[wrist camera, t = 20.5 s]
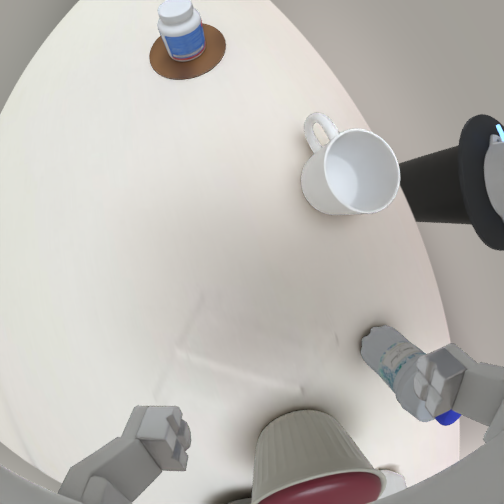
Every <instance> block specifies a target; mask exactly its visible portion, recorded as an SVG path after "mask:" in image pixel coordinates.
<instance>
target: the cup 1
mask: <svg viewBox="0 0 504 504" xmlns="http://www.w3.org/2000/svg"><path fill="white" fill-rule="evenodd" d="M316 122H318V123H319V124H320V125H321V126H322V128H323V129H324V131H325V133H326V135H327V136H328V138H329V140H330V141H329V142H328V143H327V144H326V145H324V146H323V147H322V146H321V144H320V143H319V141H318V140H317V138H316V136H315V134H314V131H313V125H314V124H315V123H316ZM304 133H305V137H306V139H307V142H308V144H309V145H310V147H311V149H312V151H313V153H314V155H313V156H312V157H311V158H310V159H309V160H308V161H307V162H306V164H305V166H304V168H303V170H302V174H301V187H302V191H303V193H304V196H305V197H306V199H307V201H308V202H309V203H310V204H311V205H312V206H313V207H314V208H315V209H317V210H318V211H320V212H323V213H325V214H330V215H349V214H372V213H376V212H379V211H381V210H383V209H385V208H386V207H387V206H388V205H389V204H390V203H391V202H392V201H393V200H394V198H395V196H396V194H397V192H398V189H399V184H400V169H399V164H398V161H397V159H396V156H395V154H394V152H393V151H392V149H391V148H390V146H389V145H388V144H387V143H386V142H385V141H384V140H383V139H382V138H381V137H379V136H378V135H376V134H375V133H373V132H371V131H368V130H364V129H349V130H345V131H343V132H341V133H339V131H338V129H337V128H336V126H335V125H334V123H333V122H332V121H331V120H330V118H328V117H327V116H326V115H325V114H323V113H318V112H316V113H312V114H310V115H309V116H308V117H307V118H306V120H305V122H304Z"/></svg>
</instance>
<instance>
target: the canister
mask: <svg viewBox="0 0 504 504" xmlns="http://www.w3.org/2000/svg"><path fill="white" fill-rule="evenodd" d="M386 484H387V479H386V476H385V475H384V474H383V473H382V472H381V471H379V470H377V469H374V468H373V467H372V465H371V464H370V462H369V461H368V460H367V458H366V457H365V456H364V455H363V453H362V452H361V451H360V449H359V448H358V446H357V445H356V444H355V442H354V441H353V440H352V438H351V437H350V436H349V435H348V433H347V432H346V431H345V430H344V428H343V427H342V426H341V425H340V424H339V422H338V421H337V420H336V419H335V418H333V417H332V416H330V415H329V414H326V413H324V412H320V411H317V410H316V411H313V410H302V411H300V410H298V411H296V412H291V413H288V414H285V415H283V416H280V417H279V418H277V419H275V420H274V421H272V422H270V423H269V425H268V426H266V427H265V429H264V430H263V431H262V432H261V435H260V436H259V438H258V442H257V446H256V453H255V462H254V474H253V487H252V500H251V504H367V503H370V502H373V501H376V500H377V499H378V498H379V497H380V496H381V495H382V493H383V492H384V490H385V488H386Z"/></svg>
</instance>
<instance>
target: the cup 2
mask: <svg viewBox="0 0 504 504" xmlns="http://www.w3.org/2000/svg"><path fill="white" fill-rule="evenodd" d="M379 471H381V472H382V473H383V474H384V475H385V476H386V479H387V484H386V488H385V490H384V492H383V493H382V495H381V496H380V497H379V498H378V499H377V500H379V499H381V498H384V497H387V496H389V495H392V494H394V493H397V492H399V491H401V490H404V489H406V488H407V486H406V481H405V478H404V476H403V475H401V474H399V473H396V472H393V471H390V470H387V469H385V470H379Z"/></svg>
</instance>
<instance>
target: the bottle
mask: <svg viewBox="0 0 504 504" xmlns="http://www.w3.org/2000/svg"><path fill="white" fill-rule="evenodd" d="M370 331H371V333H370V334H369V335H368V336H366V337H365V336H364V337H363V339H362V348H361V355H362V358H363V359H364V361H365V362H366V363H367V364H368V366H370V367H371V368H372V369H373V370H374V371H375V372H376V373H377V374H378V375H379V376H380V377H381V378H382V379H383V380H384V381H385V383H386V384H387V385H388V386H389V387H390V388H391V389H392V391H393V392H394V393H395V394H396V399H397V401H398V402H399V403H400V404H401V406H402V408H403V409H405V410H406V411H408V412H409V413H410V414H412V415H413V416H414V417H415V418H417V419H418V420H419V421H422V422H428V421H431V420H434V419H436V420H437V421H438V422H439V423H440V424H442V425H445V426H446V425H450V424H452V423H454V422H455V421H456V420H457V419H458V418H459V417H460V416H461V414H459V413H457V412H454V411H452V409H451V410H449V411H447V412H445V413H443V414H441V415H439V416H437V417H435V418H433V417H432V416H431V415H430V413H429V412H428V411H427V409H426V408H425V401H423V400H420V399H419V398H418V397H417V396H416V394H415V391H414V387H413V380H414V376H415V374H416V373H417V371H418V369H417V367H416V363H417V360H418V358H419V357H421V356H423V355H426V353H424V352H423V351H422V350H420V349H419V348H418V347H416V346H415V345H413V344H412V343H411V342H409V341H408V340H407V339H406V338H405V337H404V336H403V335H402V334H400V333H399V332H398V331H397V330H395V329H394V328H392V327H390V326H387V325H384V326H382V327H373V328H371V330H370Z"/></svg>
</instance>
